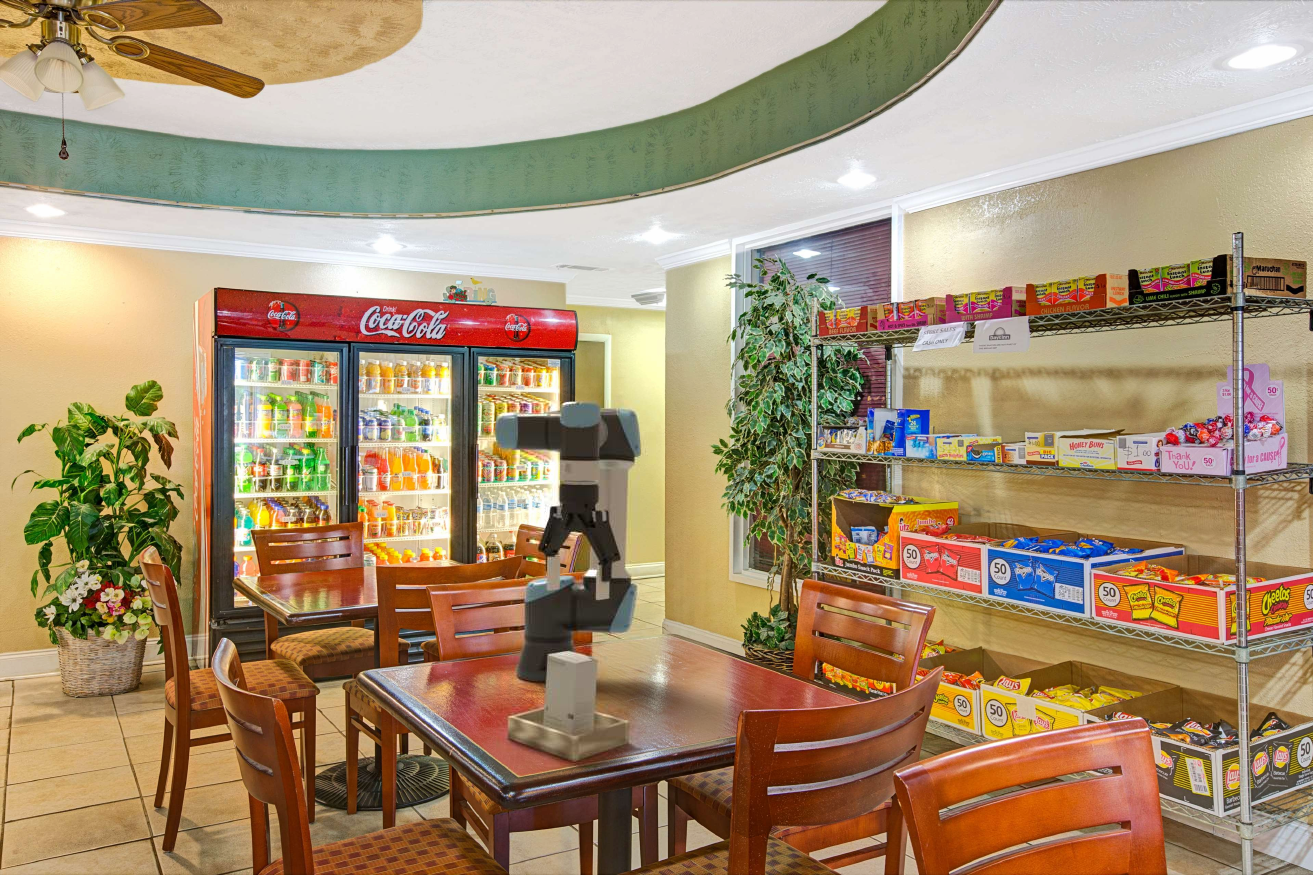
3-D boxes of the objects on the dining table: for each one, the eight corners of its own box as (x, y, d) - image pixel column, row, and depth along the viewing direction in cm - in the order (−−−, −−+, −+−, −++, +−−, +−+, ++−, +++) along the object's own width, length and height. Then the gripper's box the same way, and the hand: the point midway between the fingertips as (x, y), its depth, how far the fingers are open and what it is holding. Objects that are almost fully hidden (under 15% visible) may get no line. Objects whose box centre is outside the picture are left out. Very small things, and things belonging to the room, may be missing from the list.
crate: (507, 737, 167) (508, 716, 167) (562, 721, 178) (563, 701, 178) (574, 761, 155) (574, 738, 155) (628, 742, 166) (629, 721, 166)
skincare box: (542, 733, 167) (543, 654, 167) (565, 726, 171) (567, 649, 171) (573, 744, 161) (575, 661, 161) (597, 736, 166) (598, 656, 166)
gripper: (521, 480, 175) (519, 588, 175) (612, 486, 159) (610, 605, 159) (550, 479, 181) (548, 583, 181) (640, 485, 165) (638, 600, 165)
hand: (577, 594), depth 170 cm, fingers open, 13 cm apart
